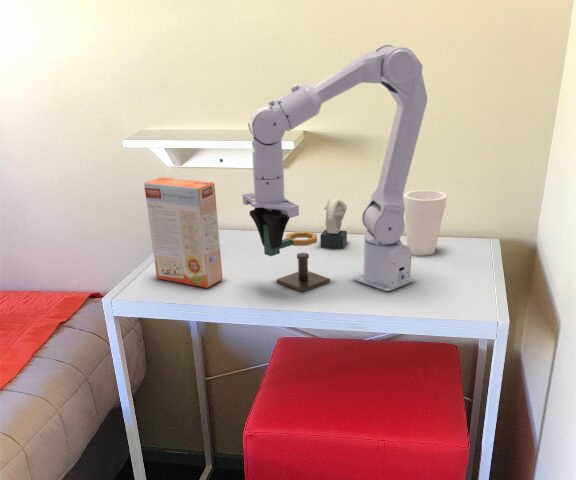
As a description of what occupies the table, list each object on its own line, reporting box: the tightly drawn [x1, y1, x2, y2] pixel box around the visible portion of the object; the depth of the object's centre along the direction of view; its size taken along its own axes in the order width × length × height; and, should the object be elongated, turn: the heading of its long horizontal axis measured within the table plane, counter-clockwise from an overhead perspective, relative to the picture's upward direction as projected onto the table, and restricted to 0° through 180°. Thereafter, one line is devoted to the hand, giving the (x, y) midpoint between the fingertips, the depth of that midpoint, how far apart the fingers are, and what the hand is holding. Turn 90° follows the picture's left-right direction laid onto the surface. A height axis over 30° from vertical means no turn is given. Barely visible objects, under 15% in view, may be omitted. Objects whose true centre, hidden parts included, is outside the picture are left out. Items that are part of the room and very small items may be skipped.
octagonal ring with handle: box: [263, 224, 318, 257], centre depth 134 cm, size 12×6×6 cm, turn 132°
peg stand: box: [276, 252, 331, 293], centre depth 139 cm, size 8×8×6 cm
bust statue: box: [320, 198, 348, 250], centre depth 158 cm, size 6×8×11 cm
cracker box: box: [143, 176, 223, 289], centre depth 139 cm, size 14×6×21 cm, turn 59°
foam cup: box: [403, 189, 447, 256], centre depth 152 cm, size 10×9×13 cm
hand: (271, 246), depth 132 cm, fingers closed on octagonal ring with handle
